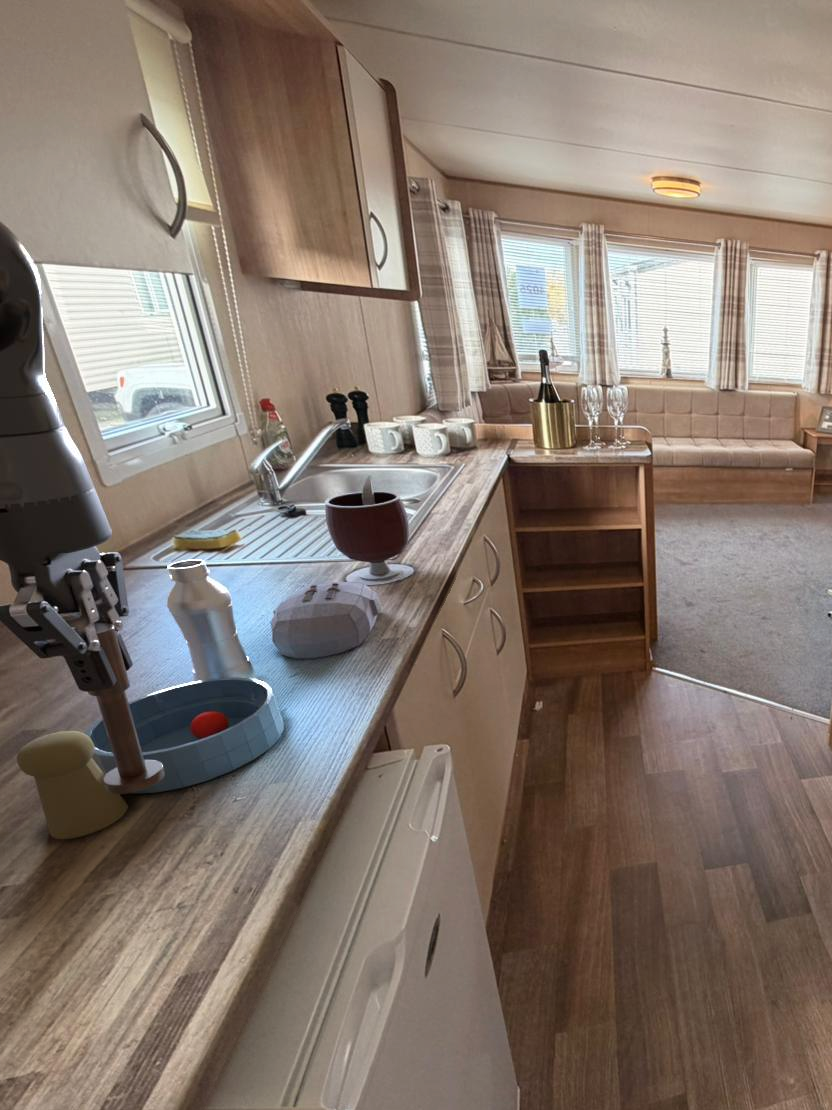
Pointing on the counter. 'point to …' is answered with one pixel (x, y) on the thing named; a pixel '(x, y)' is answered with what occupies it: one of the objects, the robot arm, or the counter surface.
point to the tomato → (208, 724)
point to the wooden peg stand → (122, 725)
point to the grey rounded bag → (324, 619)
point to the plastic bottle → (207, 623)
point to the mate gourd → (370, 532)
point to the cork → (70, 784)
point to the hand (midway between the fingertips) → (108, 678)
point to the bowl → (184, 754)
